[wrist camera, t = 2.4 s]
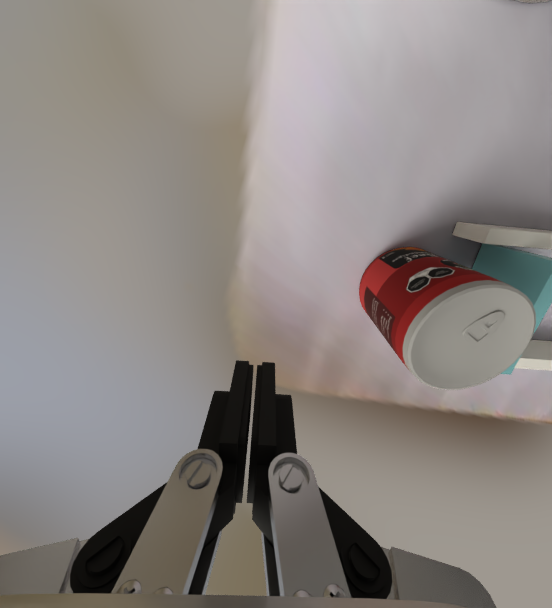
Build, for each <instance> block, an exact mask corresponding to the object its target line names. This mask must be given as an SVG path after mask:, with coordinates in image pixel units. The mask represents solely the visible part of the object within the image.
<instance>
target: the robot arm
mask: <svg viewBox="0 0 552 608" xmlns="http://www.w3.org/2000/svg"><path fill="white" fill-rule="evenodd" d="M515 1H520V2H525V3H538V2H548V1H551V0H515ZM252 380H253V365H249V361H236V364H235V369H234V374H233V378H232V383H231V388H230V392H228V391H215V392H214V394H213V397H212V401H211V404H210V408H209V411H208V415H207V418H206V422H205V425H204V429H203V432H202V435H201V439H200V443H199V446H198V449H197V450H193V451H191V452H189V453H187V454H186V455H185V456H184V457H182V459H180V461H179V462H178V464H177V465H176V467H175V469H174V471H173V473H172V475H171V477H170V479H169V481H168V482H167V483H165V484H164V485H163V486H161V487H160V488H158V489H157V490H156V491H154V492H153V493H151V494H150V495H149V496H147V497H146V498H144V499H143V500H142V501H140V502H139V503H137V504H136V505H135V506H133V507H132V508H130V509H129V510H128V511H126V512H125V513H123V514H122V515H121V516H119V517H118V518H116V519H115V520H114V521H112V522H111V523H109V524H108V525H107V526H105V527H104V528H102V529H101V530H100V531H98V532H97V533H96V534H95V535H94V536H92V537H91V538H90V539H87V540H83V541H79V539H78V538H75V539H70V540H66V541H62V542H57V543H53V544H49V545H44V546H40V547H35V548H31V549H27V550H22V551H18V552H14V553H9V554H5V555H1V556H0V608H496V606H495V604H494V602H493V600H492V598H491V596H490V594H489V593H488V592H487V590H486V589H485V588H484V587H483V585H482V584H481V583H480V582H479V581H478V580H477V579H476V578H475V577H473V576H472V575H471V574H470V573H468V572H466V571H464V570H462V569H460V568H457V567H454V566H451V565H448V564H445V563H442V562H438V561H436V560H432V559H429V558H426V557H423V556H420V555H416V554H413V553H410V552H407V551H404V550H401V549H398V548H394V547H391V549H390V550H389V549H386V548H383V547H380V545H379V544H378V543H377V542H376V541H375V540H374V539H373V538H372V537H371V536H370V535H369V534H368V533H367V532H366V531H365V530H364V529H363V528H362V527H361V526H359V525H358V524H357V523H356V522H355V521H354V520H353V519H352V518H351V517H350V516H349V515H348V514H347V513H346V512H345V511H344V510H342V509H341V508H340V507H339V506H338V505H337V504H336V503H335V502H334V501H333V500H332V499H331V498H330V497H329V496H328V495H327V494H326V493H324V492H323V491H322V490H321V489H320V488H319V487H318V485H317V481H316V478H315V474H314V471H313V469H312V467H311V465H310V464H309V463H308V462H307V460H306V459H304V458H303V457H302V456H300V455H298V454H297V449H296V439H295V428H294V418H293V408H292V398H291V395H281V394H275V363H269V362H262V365H257V376H256V390H255V401H254V413H253V425H252V426H253V427H252V438H251V451H250V465H249V479H248V493H247V503H253V510H252V514H253V518H252V520H253V521H254V522H255V523H256V525H257V526H258V527H259V529H260V530H261V531H262V547H263V557H264V569H265V580H266V590H267V596H234V595H205V593H206V589H207V586H208V582H209V578H210V574H211V571H212V567H213V563H214V560H215V556H216V552H217V549H218V545H219V541H220V538H221V533H222V529H223V528H224V527H225V526H226V525H227V524H228V523H229V522H230V521H231V520H232V519H233V513H235V506H236V503H242V496H243V486H244V475H245V464H246V454H247V444H248V433H249V423H250V410H251V395H252Z"/></svg>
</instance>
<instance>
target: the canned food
mask: <svg viewBox="0 0 552 608" xmlns="http://www.w3.org/2000/svg"><path fill="white" fill-rule="evenodd" d="M359 295H360V302H361V304H362V307H363V308H364V310H365V312H366V313H367V314H368V316H369V317H370V318H371V320H372V321H373V322H374V324H375V325H376V327H377V328H378V329H379V331H380V332H381V333H382V335H383V336H384V338H385V339H386V340H387V342H388V343H389V344H390V346H391V347H392V348H393V350H394V351H395V353H396V354H397V355H398V357H399V358H400V359H401V361H402V362H403V363H404V364H405V366H406V367H407V368H408V370H409V371H410V372H411V373H412V374H413V375H414V376H415V377H416V378H417V379H418V380H419V381H420V382H422V383H423V384H425V385H427V386H429V387H432V388H436V389H442V390H460V389H465V388H469V387H473V386H476V385H479V384H482V383H484V382H486V381H488V380H490V379H492V378H494V377H496V376H497V375H499V374H500V373H502V372H504V371H505V370H506V369H507V368H509V367H510V366H511V365H512V364H513V363H514V362H515V361H516V360H517V359H518V358H519V357H520V356H521V355H522V354H523V352H524V351H525V349H526V348H527V346H528V345H529V343H530V341H531V338H532V336H533V334H534V330H535V325H536V312H535V309H534V306H533V303H532V302H531V301H530V299H529V298H528V297H527V296H526V295H525V294H524V293H522V292H521V291H519V290H518V289H515V288H514V287H512V286H511V285H509V284H506V283H504V282H501V281H499V280H497V279H495V278H493V277H490V276H488V275H485V274H483V273H480V272H478V271H475V270H473V269H470V268H468V267H465V266H463V265H460V264H458V263H455V262H453V261H450V260H448V259H445V258H443V257H440V256H438V255H435V254H433V253H430V252H428V251H425V250H422V249H420V248H414V247H403V248H397V249H394V250H390V251H388V252H386V253H384V254H382V255H380V256H379V257H377V258H376V259H375V260H374V261H373V262H372V263H371V264H370V265H369V266H368V268H367V269H366V270H365V272H364V274H363V276H362V279H361V282H360V288H359Z"/></svg>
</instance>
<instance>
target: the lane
mask: <svg viewBox="0 0 552 608" xmlns="http://www.w3.org/2000/svg"><path fill="white" fill-rule="evenodd" d="M453 236H457V237H461V238H465V239H469V240H473V241H476V242H480V243H484V244H495V245H506V246H517V247H528V248H539V249H551V250H552V231H549V230H539V229H528V228H517V227H507V226H496V225H485V224H474V223H464V222H457V223H456V226H455V229H454V232H453ZM514 368H521V369H536V370H550V371H552V341H542V340H531V341H530V343H529V345H528V346H527V348H526V349H525V351H524V352H523V354H522V355H521V357H520V359H519V360H518V362H517V364H516V366H515V367H514Z"/></svg>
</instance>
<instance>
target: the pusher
mask: <svg viewBox="0 0 552 608" xmlns="http://www.w3.org/2000/svg"><path fill="white" fill-rule="evenodd" d="M472 269H473V270H475V271H478V272H480V273H483V274H485V275H488V276H490V277H493V278H495V279H497V280H499V281H501V282H504V283H506V284H509V285H511V286H512V287H514V288H515V289H518V290H519V291H521V292H522V293H524V294H525V295H526V296H527V297H528V298H529V299H530V301H531V302H532V303H533V306H534V309H535V312H536V325H535V330H534V333H535V331H536V329H537V327H538V326H539V324H540V322H541V320H542V319H543V317H544V315H545V313H546V312H547V310H548V308H549V306H550V305H551V303H552V258H549V257H545V256H541V255H537V254H533V253H529V252H525V251H521V250H517V249H513V248H509V247H505V246H501V245H495V244H484V243H482V246H481V248H480V250H479V253H478V255H477V258H476V260H475V263H474V265H473V267H472ZM520 357H521V356H520ZM520 357H519V358H518V359H517V360H516V361H515V362H514V363H513V364H512V365H511V366H510V367H509V368H507V369H506V370H505V371H504V372H502V373H500V374H511V373H512V371H513V369H514V367H515V366H516V364H517V362H518V360H519V359H520Z"/></svg>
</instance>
